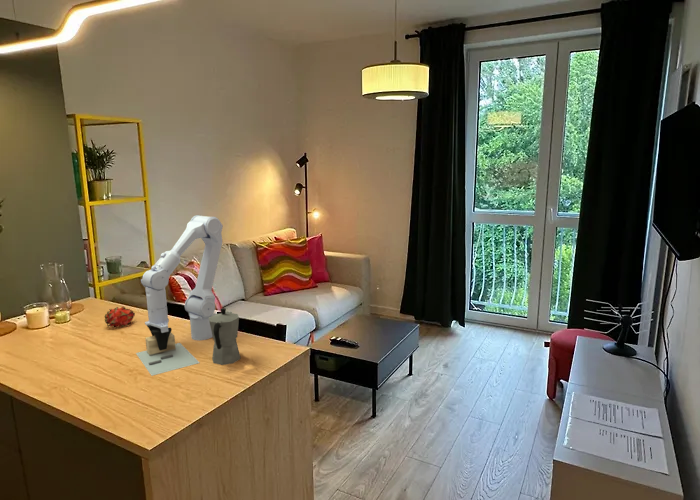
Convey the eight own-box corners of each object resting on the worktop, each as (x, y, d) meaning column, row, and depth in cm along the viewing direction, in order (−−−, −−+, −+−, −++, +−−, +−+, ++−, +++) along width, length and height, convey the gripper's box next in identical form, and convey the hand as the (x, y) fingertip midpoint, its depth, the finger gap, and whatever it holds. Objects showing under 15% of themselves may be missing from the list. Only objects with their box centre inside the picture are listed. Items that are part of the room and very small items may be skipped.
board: (180, 346, 155) (179, 342, 155) (200, 367, 139) (199, 362, 139) (136, 357, 147) (135, 353, 146) (152, 380, 131) (151, 375, 131)
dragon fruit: (102, 334, 171) (133, 329, 180) (112, 325, 166) (143, 320, 176) (96, 314, 173) (127, 310, 183) (106, 304, 169) (137, 301, 179)
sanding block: (172, 346, 152) (170, 332, 151) (175, 350, 149) (174, 335, 148) (146, 352, 147) (145, 337, 146) (149, 356, 144) (148, 341, 143)
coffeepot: (217, 354, 149) (214, 301, 145) (246, 354, 149) (243, 301, 145) (202, 376, 133) (198, 318, 130) (234, 376, 133) (230, 317, 130)
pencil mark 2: (172, 355, 144) (172, 354, 144) (173, 356, 143) (172, 355, 143) (160, 358, 142) (160, 357, 142) (161, 359, 141) (161, 358, 141)
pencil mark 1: (160, 361, 140) (160, 359, 140) (161, 362, 139) (161, 360, 139) (148, 364, 138) (148, 362, 138) (149, 365, 137) (149, 363, 137)
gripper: (138, 303, 148) (142, 343, 151) (149, 315, 137) (153, 357, 140) (161, 299, 152) (164, 338, 155) (173, 310, 141) (177, 351, 144)
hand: (160, 347), depth 148 cm, fingers open, 4 cm apart
